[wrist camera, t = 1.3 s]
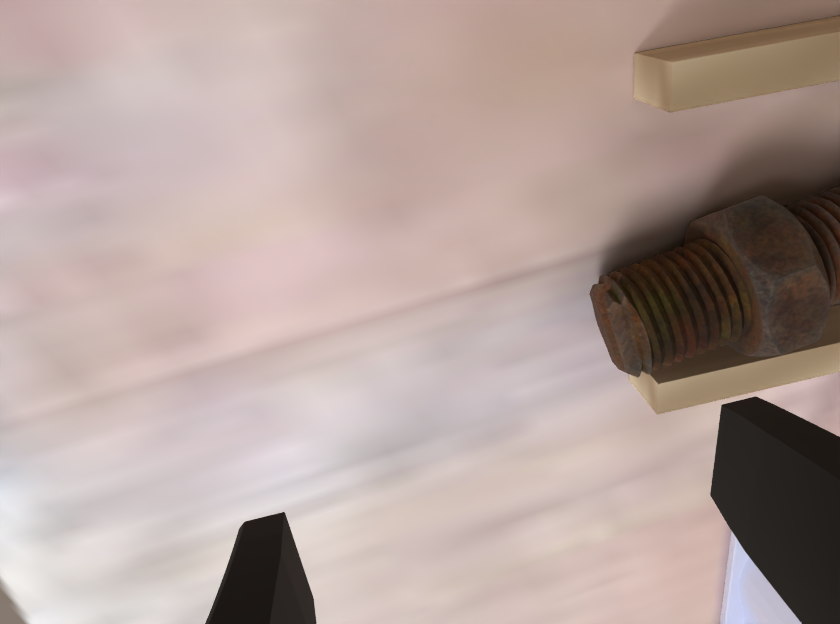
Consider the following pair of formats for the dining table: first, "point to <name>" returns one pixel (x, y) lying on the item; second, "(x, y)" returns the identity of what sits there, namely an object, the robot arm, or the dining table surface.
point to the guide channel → (715, 83)
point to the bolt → (727, 286)
